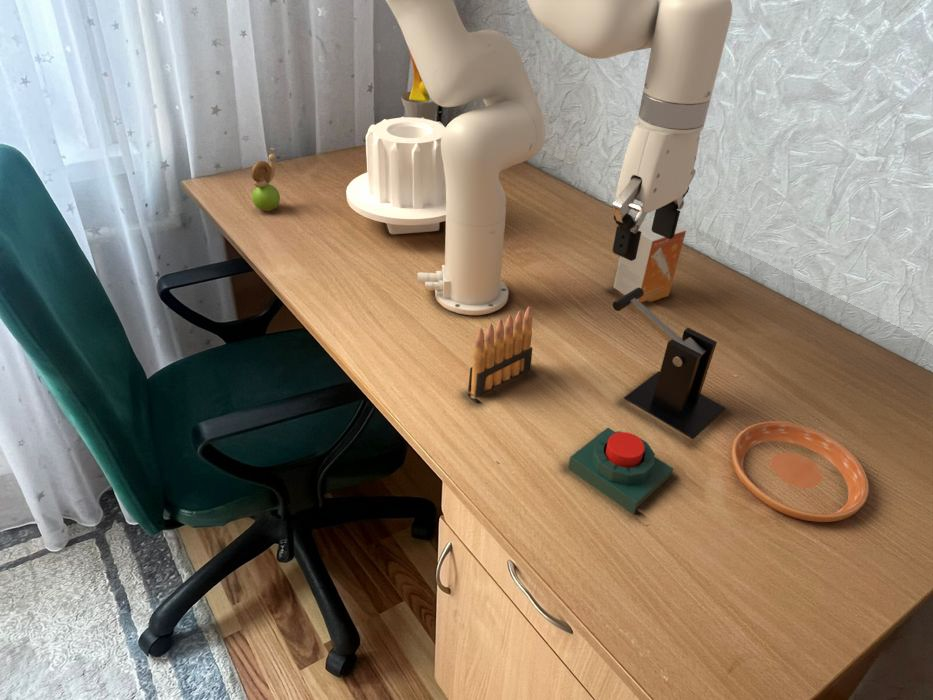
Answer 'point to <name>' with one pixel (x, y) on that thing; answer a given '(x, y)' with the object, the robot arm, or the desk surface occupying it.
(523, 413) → the desk surface
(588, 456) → the button block
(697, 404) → the stand
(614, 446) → the button
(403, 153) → the ribbed cylinder on disc
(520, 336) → the ammunition clip
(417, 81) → the lava lamp
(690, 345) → the lever
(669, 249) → the small box
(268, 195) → the snail figurine
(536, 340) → the desk surface
